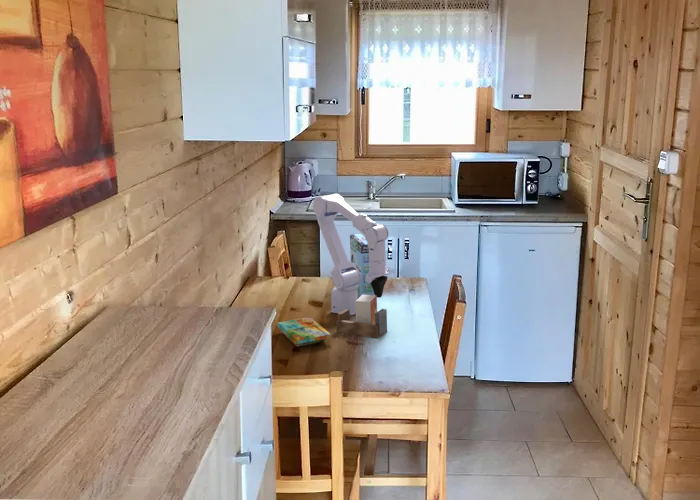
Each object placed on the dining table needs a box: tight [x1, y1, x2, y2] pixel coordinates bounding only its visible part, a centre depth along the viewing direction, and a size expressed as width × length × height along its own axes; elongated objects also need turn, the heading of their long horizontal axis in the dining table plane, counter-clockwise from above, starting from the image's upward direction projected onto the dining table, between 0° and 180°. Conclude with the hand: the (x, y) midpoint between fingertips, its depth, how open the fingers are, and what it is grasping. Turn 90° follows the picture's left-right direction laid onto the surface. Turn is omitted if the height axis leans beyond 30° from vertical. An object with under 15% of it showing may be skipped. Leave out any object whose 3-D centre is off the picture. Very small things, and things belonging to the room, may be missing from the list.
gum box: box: [349, 233, 374, 298], centre depth 278 cm, size 20×5×23 cm, turn 13°
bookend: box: [375, 308, 388, 338], centre depth 236 cm, size 2×6×8 cm, turn 150°
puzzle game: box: [276, 316, 332, 347], centre depth 235 cm, size 12×5×20 cm
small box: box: [355, 295, 378, 325], centre depth 243 cm, size 8×6×10 cm
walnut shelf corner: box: [335, 309, 380, 339], centre depth 239 cm, size 16×7×6 cm, turn 60°
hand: (378, 296), depth 248 cm, fingers closed
